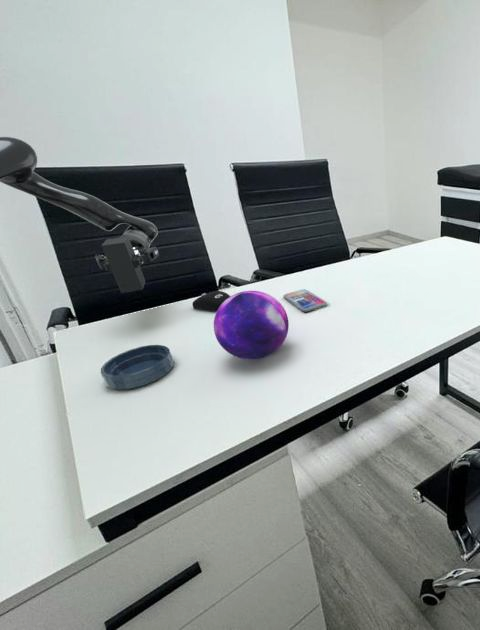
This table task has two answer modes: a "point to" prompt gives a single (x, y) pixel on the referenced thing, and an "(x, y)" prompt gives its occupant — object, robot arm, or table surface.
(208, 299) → the computer mouse
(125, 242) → the dark grey upright block
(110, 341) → the table surface
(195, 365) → the table surface
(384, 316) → the table surface
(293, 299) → the smartphone
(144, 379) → the bowl
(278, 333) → the decorative orb
